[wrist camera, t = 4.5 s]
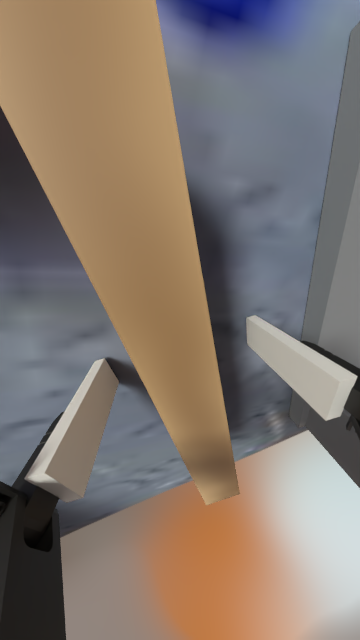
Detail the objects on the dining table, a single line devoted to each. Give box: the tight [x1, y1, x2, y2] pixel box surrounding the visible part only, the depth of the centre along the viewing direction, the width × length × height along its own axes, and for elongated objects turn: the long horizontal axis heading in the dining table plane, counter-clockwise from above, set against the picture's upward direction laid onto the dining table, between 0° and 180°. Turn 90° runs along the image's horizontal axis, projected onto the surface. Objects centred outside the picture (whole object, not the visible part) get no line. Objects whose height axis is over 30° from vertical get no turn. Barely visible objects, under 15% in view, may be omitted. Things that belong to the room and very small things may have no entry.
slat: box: [0, 0, 240, 505], centre depth 10 cm, size 3×24×6 cm, turn 14°
